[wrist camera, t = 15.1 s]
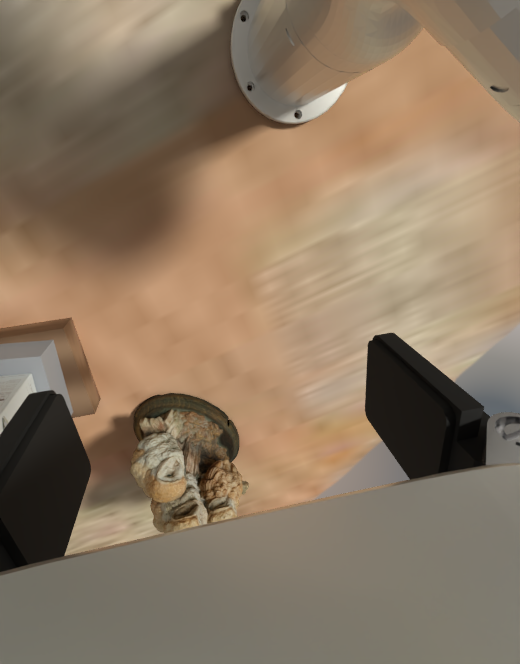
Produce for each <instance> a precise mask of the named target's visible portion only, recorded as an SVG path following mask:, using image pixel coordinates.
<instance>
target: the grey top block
mask: <svg viewBox="0 0 520 664" xmlns="http://www.w3.org/2000/svg"><path fill="white" fill-rule="evenodd" d="M29 373H31V374H32V376H33V380H34V384H35V388H36V391H37V392H42V391H48V390H53V391H55V392H56V394H62V395H63V397H64V399H65V402H66V404H67V407H68V409H69V412H70V414H71V415H72V413H73V409H72V406H71V402H70V398H69V395H68V391H67V387H66V384H65V380H64V376H63V373H62V369H61V365H60V362H59V358H58V355H57V351H56V347H55V344H54V340H45V341H32V342H20V343H7V344H0V376H6V375H16V374H29Z"/></svg>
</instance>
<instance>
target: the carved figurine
mask: <svg viewBox="0 0 520 664" xmlns="http://www.w3.org/2000/svg"><path fill="white" fill-rule="evenodd" d="M227 420H228V416H227V415H226V414H225V413H224V412H223V411H221V410H220V409H219V408H218V407H215V406H214V405H212V404H211V403H209V402H207V401H205V400H202V399H200V398H197V397H193V396H190V395H185V394H176V393H175V394H174V393H170V394H166V395H164V396H160V395H157V396H153V397H151V398H149V399H148V400H146V401H145V402H144V403H142V404H141V405H140V407H139V408H138V409H137V411H136V413H135V416H134V431H135V434H136V436H137V438H138V440H139V444H138V447H137V448H136V450H135V451H134V453H133V458H132V460H131V463H132V466H131V469H130V472H131V474H132V475H133V476H134V477H135V480H136V482H137V484H138V486H139V487H140V488H143V491H144V493H145V495H147V496H148V497H149V498H152V501H151V502H152V503H151V505H150V506H151V510H152V513H153V514H154V519H153V524H154V526H155V527H156V528H157V530H158V531H160V532H164V533H168V532H172V531H177V530H181V529H186V528H190V527H195V526H199V525H204V524H208V523H213V522H217V521H222V520H226V519H231V518H235V517H238V516H237V513H236V509H237V507H238V504H239V499H240V496H241V494H245V493H246V490H247V489H248V487H249V484H248V482H244V481H242V476H241V474H240V473H238V471H237V468H236V467H235V465H234V464H233V463H231V462H232V461H233V460H234V459H235V458H236V456H237V454H238V451H239V435H238V432H237V429H236V427H235V426H234V424H233V422H232V421H231V420H229V427H228V425H227V422H228V421H227Z"/></svg>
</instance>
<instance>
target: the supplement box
mask: <svg viewBox="0 0 520 664" xmlns="http://www.w3.org/2000/svg"><path fill="white" fill-rule="evenodd" d="M36 392H37V391H36V388H35V384H34V380H33V376H32V374H31V373H29V374H16V375H6V376H0V434H1V433H2V431H3V430H4V429H5V427H6V426H7V424H8V423H9V422H10V420H11V419H12V417H13V416H14V414H15V413H16V412H17V410H18V409H19V407H20V406H21V404H22V403H23V402H24V400H25V399H26V397H27V396H28V395H29V394H31V393H36Z"/></svg>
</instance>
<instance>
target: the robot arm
mask: <svg viewBox="0 0 520 664" xmlns="http://www.w3.org/2000/svg"><path fill="white" fill-rule="evenodd" d="M241 17H244V18H245V19H246V21H245V22H242V21H241ZM423 28H425V29H426V30H427V31H428V32H429V33H430V35H431V36H432V37H433V38H434V39H435V40H436V41H437V42H438V43H439V44H440V45H442V46H445V47H446V48H447V49H448V50H449V51H450V52H451V53H452V54H453V55H454V56H455V58H456V59H457V60H458V61H459V62H460V63H461V64H462V65H463V66H464V67H465V68H466V69H467V70H468V71H469V72H470V74H471V75H472V76H473V77H474V78H475V79H476V80H477V81H478V82H479V83H480V84H481V85H482V86H483V87H484V88H485V89H486V91H487V92H488V93H489V94H490V95H491V96H492V97H493V98H494V99H495V100H496V101H497V102H498V103H499V104H500V105H501V107H502V108H503V109H504V110H505V111H507V112H508V113H509V114H510V115H511V116H512V117H513V118H514V119H516V120H517V121H518V122H519V123H520V0H241V2H240V4H239V6H238V8H237V11H236V14H235V17H234V22H233V26H232V31H231V44H230V51H231V60H232V66H233V70H234V74H235V78H236V80H237V82H238V84H239V87H240V89H241V91H242V93H243V94H244V96H245V97H246V99H247V100H248V102H249V103H250V104H251V105H252V106H253V107H254V108H255V109H256V110H257V111H258V112H260V113H261V114H262V115H264V116H265V117H267V118H269V119H271V120H273V121H276V122H279V123H284V124H300V123H304V122H308V121H310V120H313V119H315V118H317V117H319V116H320V115H322V114H323V113H325V112H326V111H327V110H329V109H330V108H331V107H332V106H333V105H334V104H335V103H336V101H337V100H338V98H339V97H340V96H341V94H342V93H343V91H344V89H345V87H346V85H347V83H348V82H349V81H351V80H353V79H355V78H357V77H359V76H361V75H362V74H364V73H366V72H368V71H370V70H372V69H374V68H376V67H377V66H379V65H381V64H383V63H385V62H387V61H388V60H390V59H392V58H393V57H395V56H396V55H397V54H399V53H400V52H401V51H403V50H404V49H405V48H406V47H407V46H408V45H409V44H410V43H411V42H412V41H413V40H414V39H415V38H416V37H417V35H418V34H419V33H420V32H421V30H422V29H423ZM247 86H251V88H252V90H251V91H248V89H247ZM295 113H297V114H298V117H297V118H295V117H294V114H295ZM483 410H484V406H482V405H481V404H480V403H479V402H477V401H476V400H475V399H474V398H473V397H471V396H470V395H469V394H468V393H467V392H465V391H464V390H463V389H462V388H460V387H459V386H458V385H457V384H456V383H454V382H453V381H452V380H451V379H449V378H448V377H447V376H446V375H445V374H443V373H442V372H441V371H440V370H438V369H437V368H436V367H435V366H434V365H432V364H431V363H430V362H429V361H427V360H426V359H425V358H424V357H423V356H421V355H420V354H419V353H418V352H416V351H415V350H414V349H413V348H412V347H410V346H409V345H408V344H407V343H405V342H404V341H403V340H402V339H401V338H399V337H398V336H397V335H396V334H394V333H387V334H381V335H375V336H374V338H373V340H372V341H369V343H368V356H367V378H366V400H365V412H366V416H367V418H368V420H369V422H370V423H371V425H372V426H373V427H374V429H375V430H376V432H377V433H378V435H379V436H380V437H381V439H382V440H383V442H384V443H385V444H386V446H387V447H388V449H389V450H390V452H391V453H392V454H393V456H394V457H395V459H396V460H397V462H398V463H399V464H400V466H401V467H402V468H403V470H404V471H405V473H406V474H407V476H408V477H409V478H410V480H406V481H400V482H396V483H391V484H386V485H382V486H377V487H372V488H368V489H363V490H358V491H354V492H349V493H345V494H340V495H335V496H331V497H326V498H321V499H317V500H312V501H307V502H303V503H298V504H294V505H289V506H285V507H280V508H276V509H271V510H267V511H262V512H258V513H253V514H248V515H244V516H239V517H235V518H231V519H226V520H222V521H217V522H213V523H208V524H204V525H199V526H195V527H190V528H186V529H181V530H177V531H172V532H168V533H164V534H159V535H155V536H151V537H146V538H142V539H137V540H133V541H129V542H124V543H120V544H115V545H111V546H107V547H102V548H98V549H93V550H89V551H85V552H80V553H76V554H72V555H68V556H64V555H65V552H66V549H67V545H68V542H69V539H70V536H71V533H72V530H73V527H74V524H75V521H76V517H77V514H78V511H79V508H80V505H81V502H82V499H83V496H84V493H85V489H86V486H87V483H88V480H89V477H90V473H91V466H90V462H89V459H88V456H87V454H86V452H85V449H84V447H83V444H82V442H81V439H80V437H79V434H78V432H77V429H76V427H75V424H74V422H73V419H72V417H71V414H70V412H69V409H68V407H67V404H66V402H65V399H64V397H63V395H62V394H56V392H55V391H53V390H48V391H42V392H36V393H31V394H29V395H28V396H27V397H26V399H25V400H24V402H23V403H22V404H21V406H20V407H19V409H18V410H17V412H16V413H15V414H14V416H13V417H12V419H11V420H10V422H9V423H8V424H7V426H6V427H5V429H4V430H3V431H2V433H1V434H0V664H520V414H519V413H512V412H506V413H498V414H495V415H493V416H491V417H490V416H489V415H487V414H486V413H485V412H484V411H483Z"/></svg>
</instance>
